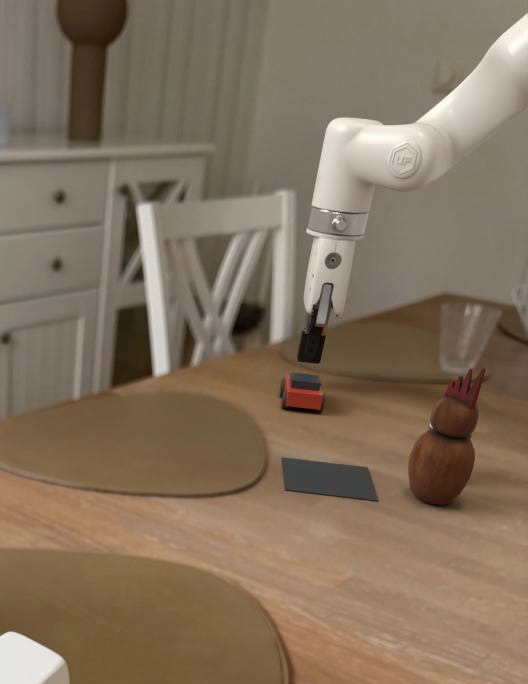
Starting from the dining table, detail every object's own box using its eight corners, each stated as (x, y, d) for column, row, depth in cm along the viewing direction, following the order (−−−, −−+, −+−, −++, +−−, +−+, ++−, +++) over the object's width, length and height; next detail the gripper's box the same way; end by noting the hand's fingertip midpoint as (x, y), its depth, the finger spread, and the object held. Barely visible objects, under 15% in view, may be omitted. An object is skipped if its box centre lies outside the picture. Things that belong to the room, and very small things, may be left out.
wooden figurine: (469, 511, 106) (512, 374, 98) (418, 510, 105) (457, 372, 97) (442, 486, 111) (481, 355, 103) (394, 485, 111) (429, 352, 103)
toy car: (328, 387, 129) (286, 382, 129) (322, 415, 131) (281, 410, 131) (323, 370, 135) (283, 366, 136) (317, 397, 137) (278, 392, 138)
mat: (367, 467, 115) (367, 467, 115) (377, 501, 107) (377, 500, 107) (281, 457, 116) (281, 457, 116) (285, 490, 108) (285, 489, 108)
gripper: (372, 235, 123) (339, 379, 133) (359, 217, 136) (330, 350, 145) (311, 229, 124) (283, 373, 134) (305, 212, 136) (279, 344, 146)
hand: (308, 361), depth 139 cm, fingers closed
